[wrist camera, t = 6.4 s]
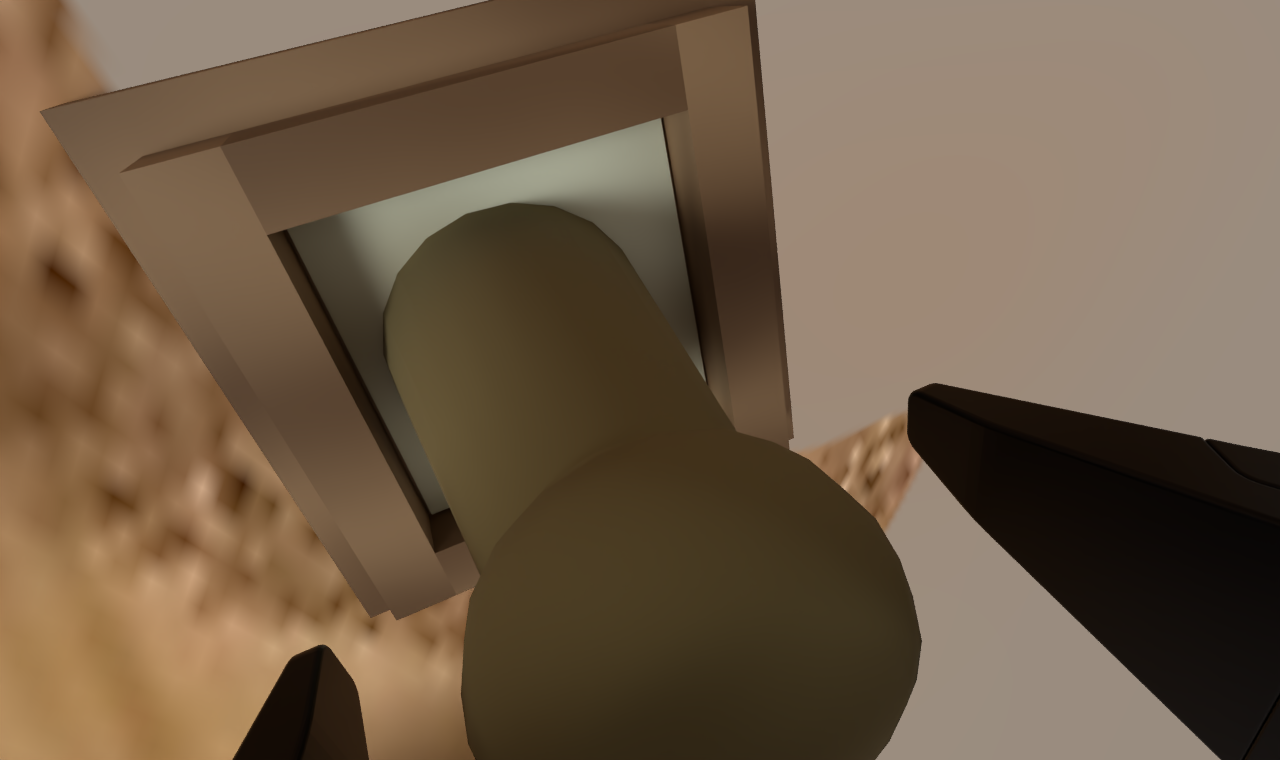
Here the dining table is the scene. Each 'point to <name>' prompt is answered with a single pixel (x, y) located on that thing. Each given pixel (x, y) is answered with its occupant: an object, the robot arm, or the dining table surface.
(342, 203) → the brown picture frame
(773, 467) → the olive bulb-ended cylinder
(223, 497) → the dining table surface
